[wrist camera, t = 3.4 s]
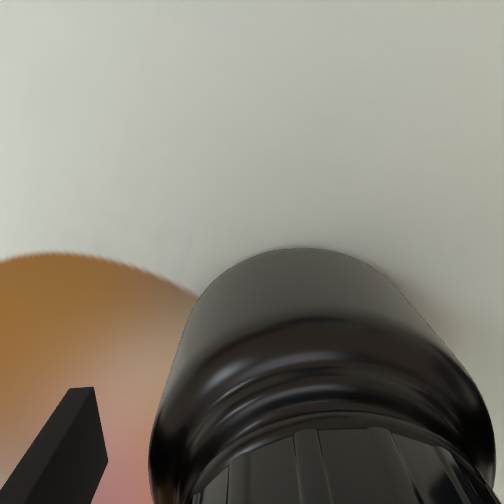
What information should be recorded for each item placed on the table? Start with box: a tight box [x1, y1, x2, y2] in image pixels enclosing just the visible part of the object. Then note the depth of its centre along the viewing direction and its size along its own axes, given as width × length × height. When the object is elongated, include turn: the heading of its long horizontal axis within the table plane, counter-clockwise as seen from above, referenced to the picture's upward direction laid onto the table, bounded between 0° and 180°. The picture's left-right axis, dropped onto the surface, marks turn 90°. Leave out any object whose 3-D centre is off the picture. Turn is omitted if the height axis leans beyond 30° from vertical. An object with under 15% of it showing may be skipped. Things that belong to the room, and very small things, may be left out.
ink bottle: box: [148, 248, 502, 504], centre depth 12 cm, size 10×9×12 cm
